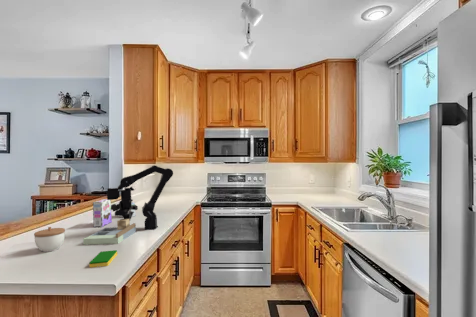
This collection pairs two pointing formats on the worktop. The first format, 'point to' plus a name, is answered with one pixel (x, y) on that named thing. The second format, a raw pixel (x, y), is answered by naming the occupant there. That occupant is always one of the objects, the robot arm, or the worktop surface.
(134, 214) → the light bulb box
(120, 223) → the oak block
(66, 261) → the worktop surface
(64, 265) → the worktop surface
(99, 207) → the candy box
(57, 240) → the lidded bowl
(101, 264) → the dish sponge
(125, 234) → the board
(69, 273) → the worktop surface
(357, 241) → the worktop surface
